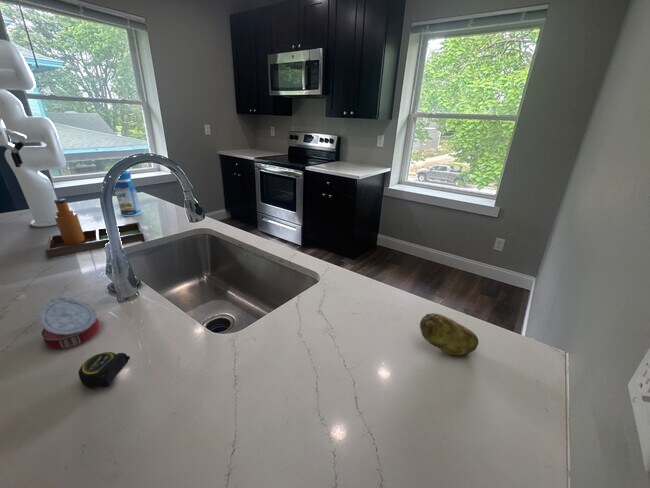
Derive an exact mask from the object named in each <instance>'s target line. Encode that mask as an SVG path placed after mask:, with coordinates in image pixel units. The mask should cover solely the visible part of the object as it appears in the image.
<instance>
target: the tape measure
mask: <svg viewBox="0 0 650 488" xmlns="http://www.w3.org/2000/svg"><path fill="white" fill-rule="evenodd" d="M129 360H131V356H130V355H128V354H126V353H125V352H118V353H115V352H111V351H105V352H101V353H97V354H95V355H93V356H91V357H90V358H88V359H86V360H85V361H84V362H83V363H82V364H81V366H80V368H79V370H78V373H77V374H78V378H79V381H80V382H81V384H82V386H84V387H86V388H87V389H96V388H107V387H110V385H111V384H112V383H113V382H114V380H115V379H116V377H118V375H119V373H120V372H121V371H122V370H123V369H124V367H126V365H127V364H128V362H129Z"/></svg>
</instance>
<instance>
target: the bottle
mask: <svg viewBox="0 0 650 488" xmlns="http://www.w3.org/2000/svg"><path fill="white" fill-rule="evenodd" d="M54 202H55V204H56V206H57V209H58V211H56V214H57V215H56V216H55V220H56V222H57V225H56V226H57V227H58V230H59V233H60V235H61V236H62V238H63V241H64V244H65V246H69V245H74V244H80V243H86V240H85V237H84V234H83V231H84V230H83V228H82V226H81V223H80V220H79V216H78V214H77V212H75V211H74V210H73V209H72V208H70V207H69V204H68V200H67V198H64V197H63V198H57V199H56V200H54Z"/></svg>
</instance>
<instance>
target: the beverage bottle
mask: <svg viewBox="0 0 650 488" xmlns="http://www.w3.org/2000/svg"><path fill="white" fill-rule="evenodd" d="M124 171H125V172H124V173H123V174H122V175H121V176H120V178H119V179H118V181H117V183H116V185H115V189H114V190H115V192H114V194H115V196H116V199H117V202H118V207H119V210H120V214H121V216H123V217H135V216H138V215H140V214H142V209H141V205H140V201H139V196H138V190H137V189H136V185H135V183H134V182H133V181H132V180H131V179H132V175H131V172H130V170H124Z"/></svg>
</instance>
